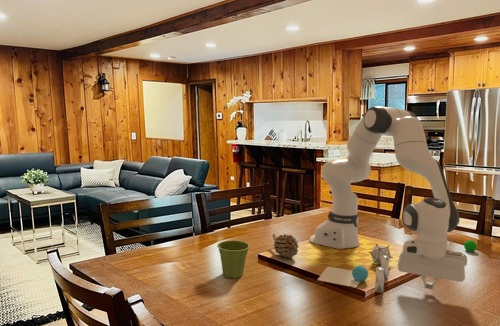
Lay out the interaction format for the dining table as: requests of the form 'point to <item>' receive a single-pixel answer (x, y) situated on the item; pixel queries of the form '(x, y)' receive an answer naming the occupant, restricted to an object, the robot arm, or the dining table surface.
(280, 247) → the pine cone
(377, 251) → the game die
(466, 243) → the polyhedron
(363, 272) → the ball
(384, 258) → the post
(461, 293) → the dining table surface
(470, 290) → the dining table surface
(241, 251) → the plant pot
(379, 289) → the post
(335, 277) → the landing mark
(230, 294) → the dining table surface
